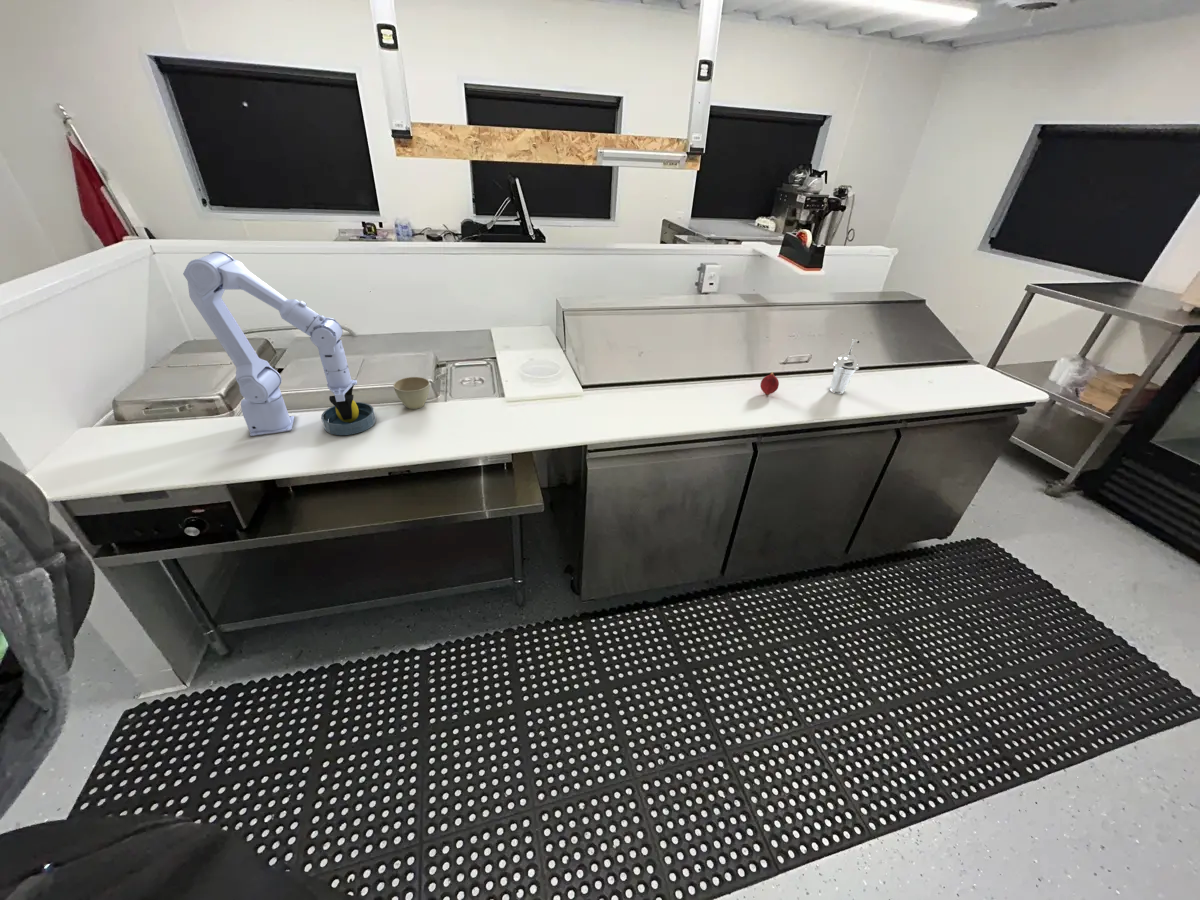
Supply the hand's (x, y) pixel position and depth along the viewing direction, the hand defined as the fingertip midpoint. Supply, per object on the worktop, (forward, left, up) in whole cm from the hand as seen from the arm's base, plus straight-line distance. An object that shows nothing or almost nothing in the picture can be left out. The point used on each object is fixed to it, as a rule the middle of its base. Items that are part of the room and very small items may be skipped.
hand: (348, 413), depth 133 cm
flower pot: (+17, +7, -4) cm, 19 cm away
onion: (+128, -18, -4) cm, 130 cm away
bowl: (0, 0, -3) cm, 3 cm away
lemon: (0, 0, -3) cm, 3 cm away
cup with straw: (+154, -23, -4) cm, 156 cm away
